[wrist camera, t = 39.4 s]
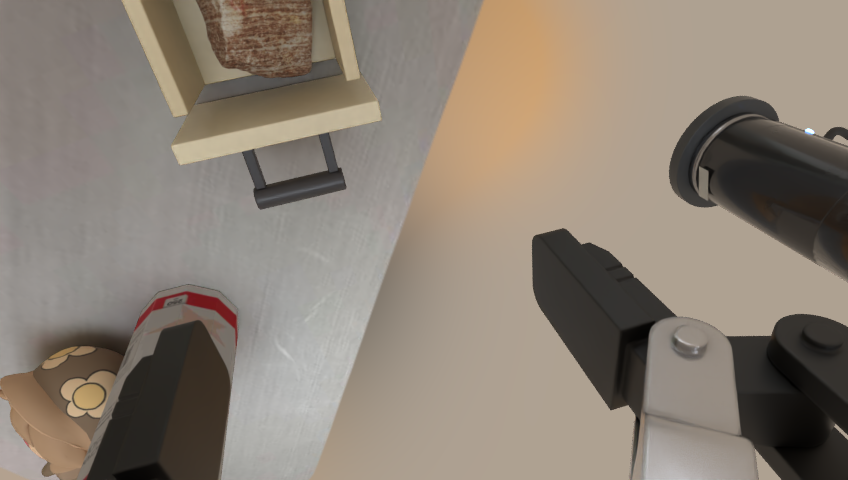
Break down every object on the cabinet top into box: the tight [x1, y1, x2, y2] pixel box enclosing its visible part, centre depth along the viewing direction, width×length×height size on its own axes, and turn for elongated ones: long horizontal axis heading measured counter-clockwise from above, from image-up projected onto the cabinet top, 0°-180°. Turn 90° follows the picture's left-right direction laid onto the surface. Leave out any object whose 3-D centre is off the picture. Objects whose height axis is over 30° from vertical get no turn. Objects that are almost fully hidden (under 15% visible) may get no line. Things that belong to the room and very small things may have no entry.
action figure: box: [0, 346, 124, 480], centre depth 39 cm, size 10×11×15 cm
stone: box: [196, 0, 312, 78], centre depth 27 cm, size 7×6×5 cm
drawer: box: [122, 0, 382, 209], centre depth 27 cm, size 19×11×8 cm, turn 8°
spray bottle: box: [77, 284, 238, 480], centre depth 31 cm, size 8×8×25 cm
